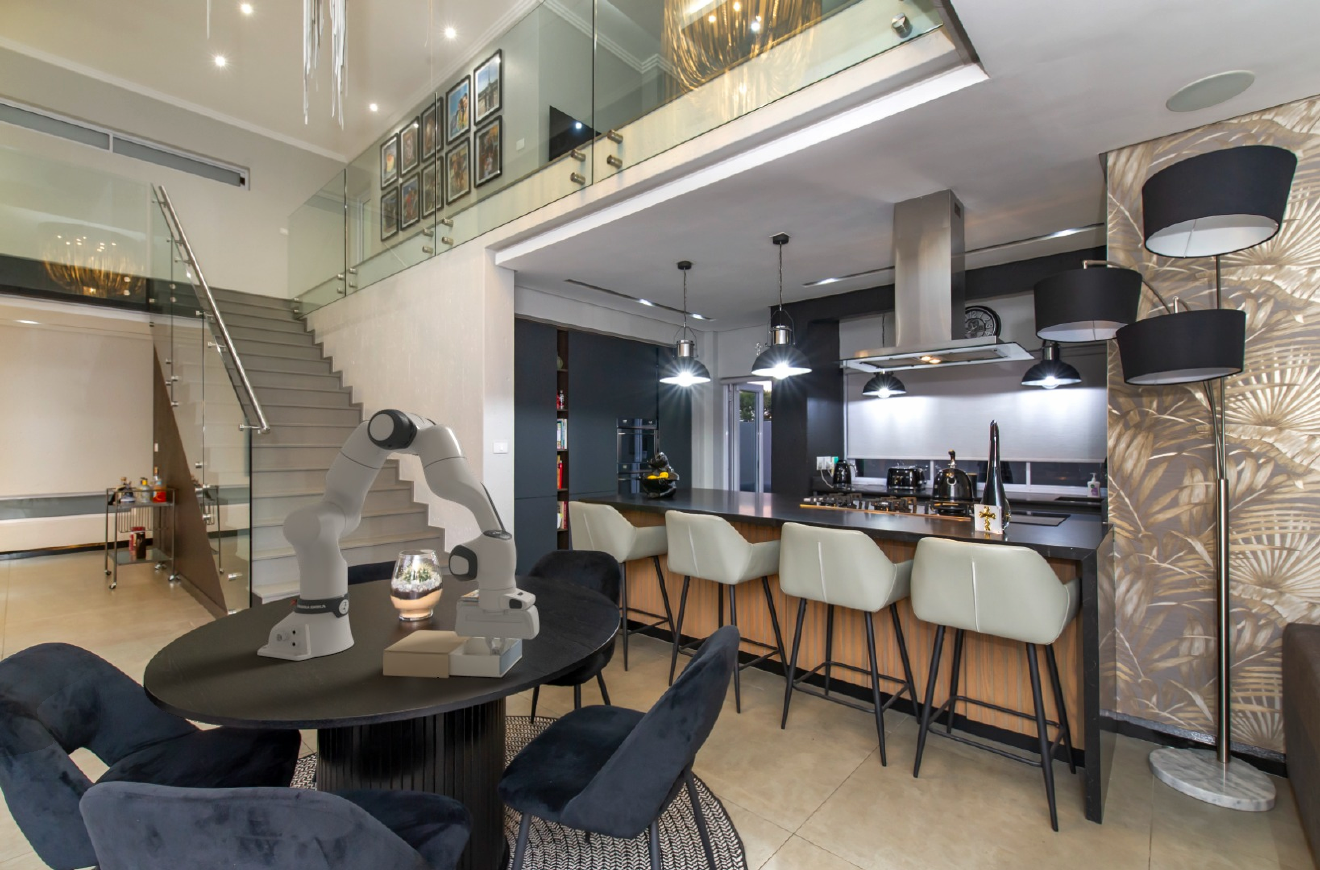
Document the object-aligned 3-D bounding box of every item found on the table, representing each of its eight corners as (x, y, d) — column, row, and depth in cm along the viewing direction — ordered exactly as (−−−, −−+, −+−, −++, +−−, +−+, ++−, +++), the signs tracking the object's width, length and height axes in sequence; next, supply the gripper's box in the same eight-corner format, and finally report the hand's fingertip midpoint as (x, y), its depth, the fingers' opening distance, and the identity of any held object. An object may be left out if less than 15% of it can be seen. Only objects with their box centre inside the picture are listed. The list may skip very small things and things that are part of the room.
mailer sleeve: (383, 675, 134) (383, 650, 134) (417, 652, 149) (417, 629, 149) (447, 677, 132) (447, 652, 132) (476, 654, 147) (476, 631, 147)
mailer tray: (439, 674, 133) (439, 654, 133) (465, 654, 146) (465, 636, 146) (501, 677, 131) (501, 657, 131) (521, 656, 144) (521, 638, 144)
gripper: (450, 599, 137) (450, 658, 136) (532, 602, 134) (532, 661, 134) (462, 593, 143) (462, 648, 143) (541, 595, 140) (541, 652, 140)
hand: (496, 655), depth 138 cm, fingers closed
